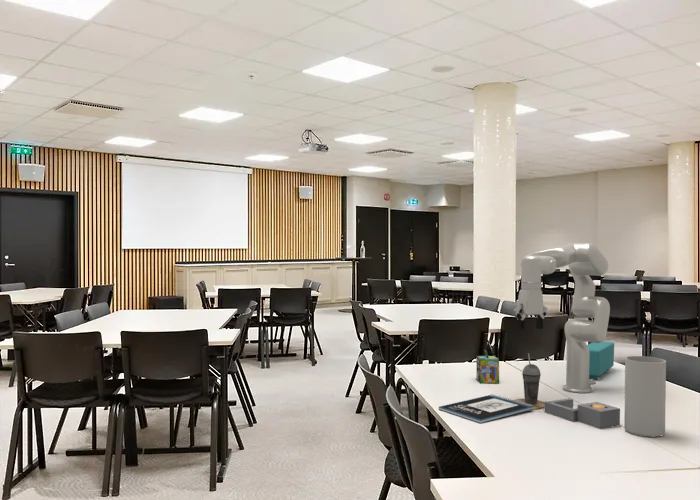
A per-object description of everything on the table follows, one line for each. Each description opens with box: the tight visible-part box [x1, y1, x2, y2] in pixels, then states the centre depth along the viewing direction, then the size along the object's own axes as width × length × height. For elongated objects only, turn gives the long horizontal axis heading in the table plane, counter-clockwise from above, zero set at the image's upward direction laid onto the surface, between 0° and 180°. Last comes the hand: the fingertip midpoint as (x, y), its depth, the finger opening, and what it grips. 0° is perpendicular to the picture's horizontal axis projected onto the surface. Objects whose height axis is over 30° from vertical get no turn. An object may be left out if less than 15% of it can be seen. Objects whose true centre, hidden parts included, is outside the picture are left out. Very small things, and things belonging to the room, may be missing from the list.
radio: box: [586, 340, 615, 380], centre depth 295 cm, size 34×10×15 cm, turn 144°
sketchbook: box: [438, 393, 533, 424], centre depth 226 cm, size 22×30×2 cm
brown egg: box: [593, 404, 605, 409], centre depth 211 cm, size 4×4×4 cm
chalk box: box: [475, 349, 500, 384], centre depth 277 cm, size 9×9×15 cm
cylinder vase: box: [623, 355, 667, 437], centre depth 201 cm, size 12×12×25 cm
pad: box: [511, 397, 546, 412], centre depth 236 cm, size 14×14×1 cm
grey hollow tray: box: [544, 398, 621, 430], centre depth 217 cm, size 13×24×6 cm, turn 27°
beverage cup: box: [521, 353, 542, 404], centre depth 236 cm, size 7×7×20 cm
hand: (530, 329), depth 236 cm, fingers open, 9 cm apart
